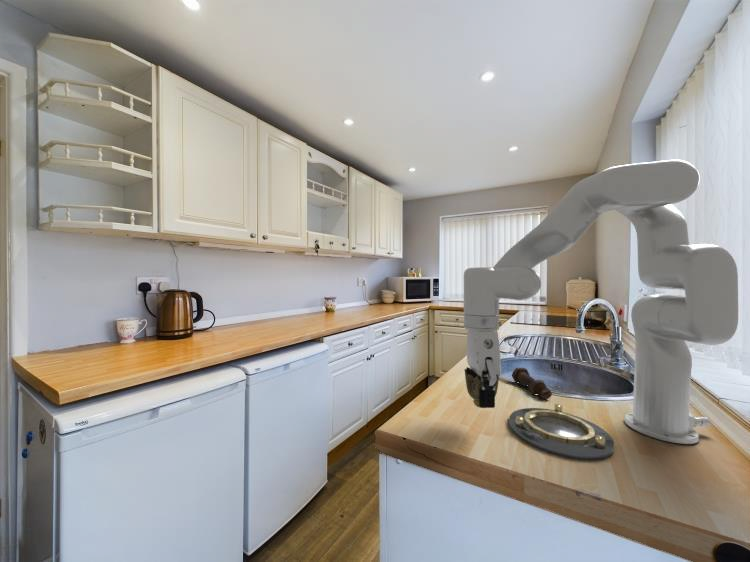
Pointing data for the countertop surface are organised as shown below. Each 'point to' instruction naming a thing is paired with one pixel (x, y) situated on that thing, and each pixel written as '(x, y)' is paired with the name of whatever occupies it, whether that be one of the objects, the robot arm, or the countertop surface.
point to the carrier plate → (561, 433)
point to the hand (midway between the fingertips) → (481, 399)
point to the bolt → (531, 383)
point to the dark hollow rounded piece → (476, 384)
